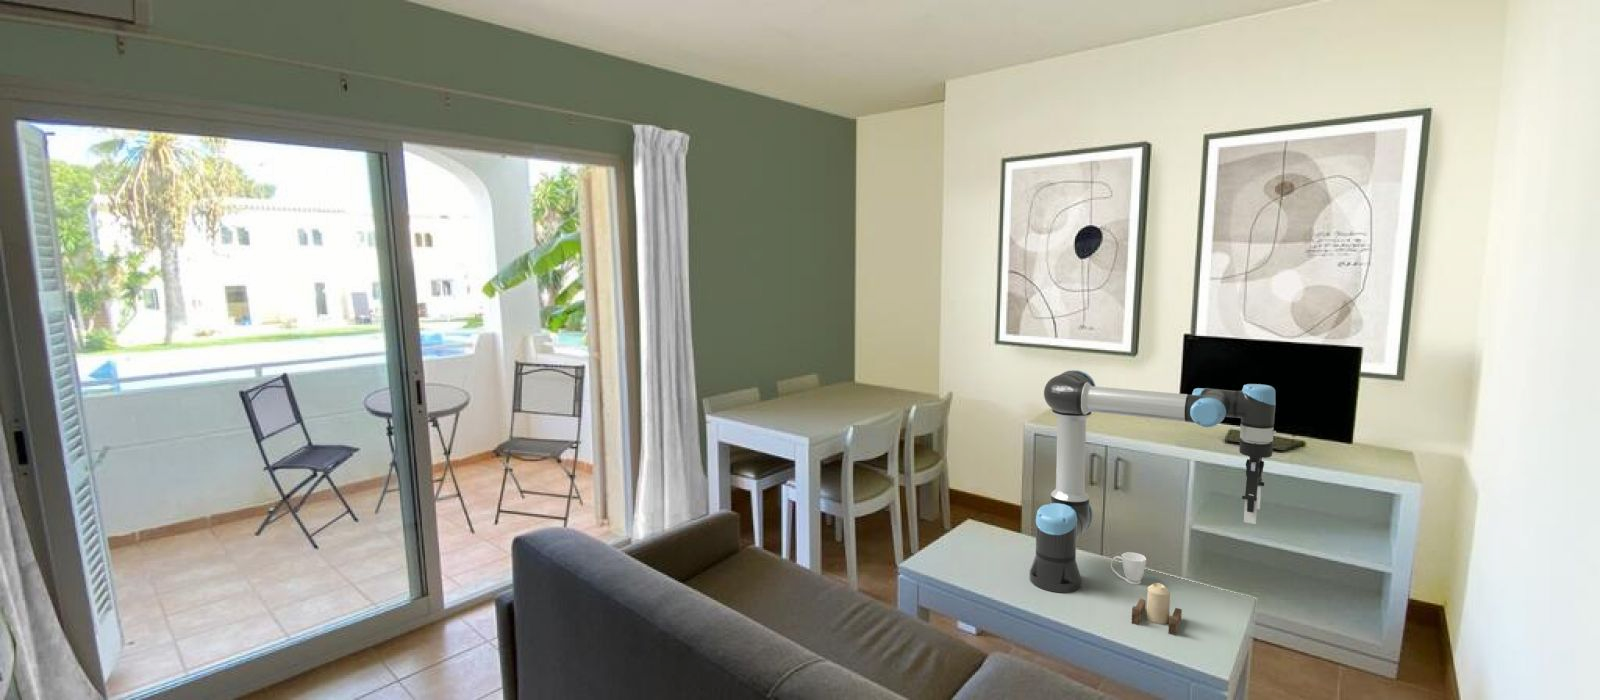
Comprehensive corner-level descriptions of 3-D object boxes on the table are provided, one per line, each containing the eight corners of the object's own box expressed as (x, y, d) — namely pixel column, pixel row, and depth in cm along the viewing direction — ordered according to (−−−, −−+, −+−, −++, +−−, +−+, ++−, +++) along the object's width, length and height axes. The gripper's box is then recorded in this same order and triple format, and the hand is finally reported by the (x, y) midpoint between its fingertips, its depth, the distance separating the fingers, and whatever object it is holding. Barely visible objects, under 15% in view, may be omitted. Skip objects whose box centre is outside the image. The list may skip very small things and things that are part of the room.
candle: (1171, 625, 182) (1173, 590, 181) (1149, 623, 183) (1151, 588, 182) (1165, 615, 187) (1166, 581, 186) (1143, 613, 189) (1145, 579, 187)
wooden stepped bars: (1131, 623, 183) (1132, 608, 183) (1139, 608, 191) (1140, 593, 191) (1174, 635, 177) (1175, 619, 177) (1181, 619, 185) (1181, 604, 184)
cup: (1144, 588, 203) (1145, 563, 202) (1108, 580, 208) (1109, 556, 208) (1147, 579, 209) (1148, 554, 208) (1112, 572, 214) (1113, 548, 213)
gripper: (1269, 453, 171) (1265, 532, 174) (1275, 433, 191) (1271, 504, 193) (1235, 448, 176) (1231, 526, 178) (1244, 430, 195) (1240, 500, 198)
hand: (1252, 515), depth 186 cm, fingers open, 13 cm apart
